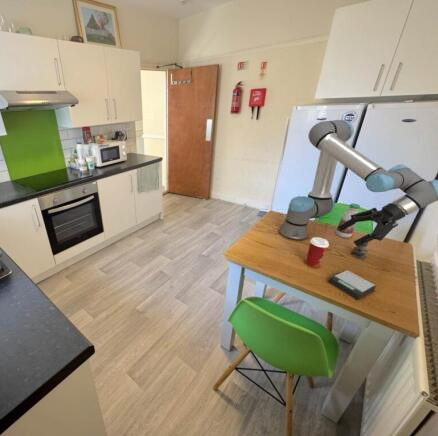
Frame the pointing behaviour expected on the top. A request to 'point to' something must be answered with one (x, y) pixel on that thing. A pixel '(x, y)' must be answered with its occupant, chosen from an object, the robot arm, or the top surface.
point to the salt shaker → (360, 251)
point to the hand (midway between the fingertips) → (346, 236)
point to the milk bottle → (345, 217)
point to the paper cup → (316, 251)
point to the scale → (352, 284)
